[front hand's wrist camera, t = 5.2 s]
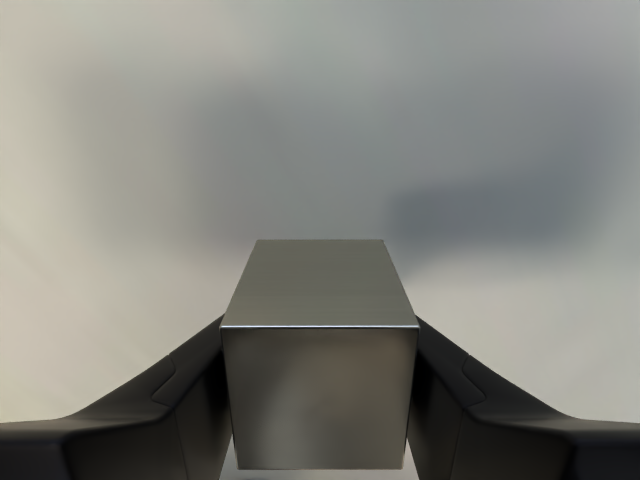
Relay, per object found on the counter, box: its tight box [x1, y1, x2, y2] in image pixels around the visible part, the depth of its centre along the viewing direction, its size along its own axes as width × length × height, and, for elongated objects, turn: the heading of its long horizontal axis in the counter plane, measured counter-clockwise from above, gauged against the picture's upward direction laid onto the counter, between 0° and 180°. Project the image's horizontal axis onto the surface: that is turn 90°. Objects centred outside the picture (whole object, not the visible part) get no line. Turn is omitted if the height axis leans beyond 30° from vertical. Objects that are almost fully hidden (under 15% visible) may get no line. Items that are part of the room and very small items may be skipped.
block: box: [219, 240, 420, 470], centre depth 10 cm, size 4×4×5 cm
